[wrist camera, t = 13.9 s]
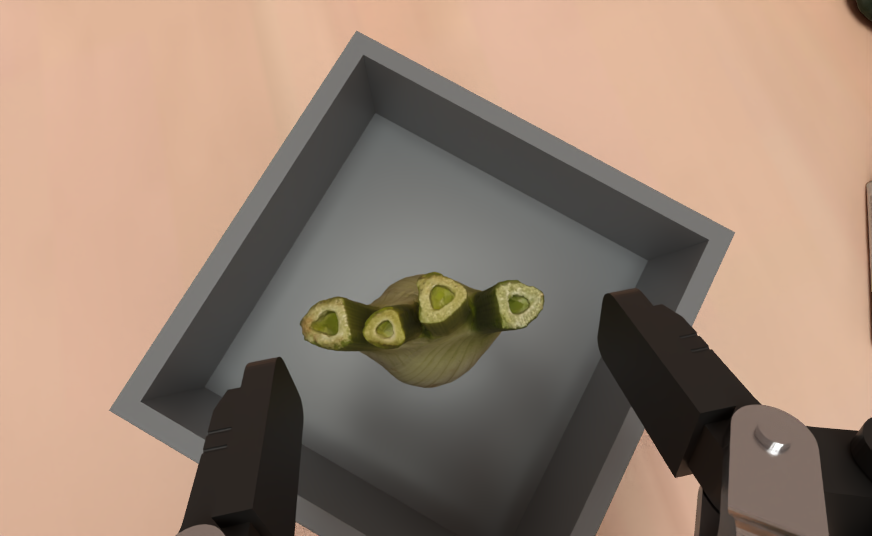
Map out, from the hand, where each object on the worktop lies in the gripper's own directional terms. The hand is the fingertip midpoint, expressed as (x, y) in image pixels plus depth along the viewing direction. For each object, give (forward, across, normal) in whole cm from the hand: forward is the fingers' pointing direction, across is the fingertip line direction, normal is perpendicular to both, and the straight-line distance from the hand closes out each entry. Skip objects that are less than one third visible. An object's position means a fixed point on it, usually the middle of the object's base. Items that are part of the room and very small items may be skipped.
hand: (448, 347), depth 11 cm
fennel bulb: (+8, 0, +7) cm, 11 cm away
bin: (+9, 0, +8) cm, 12 cm away
